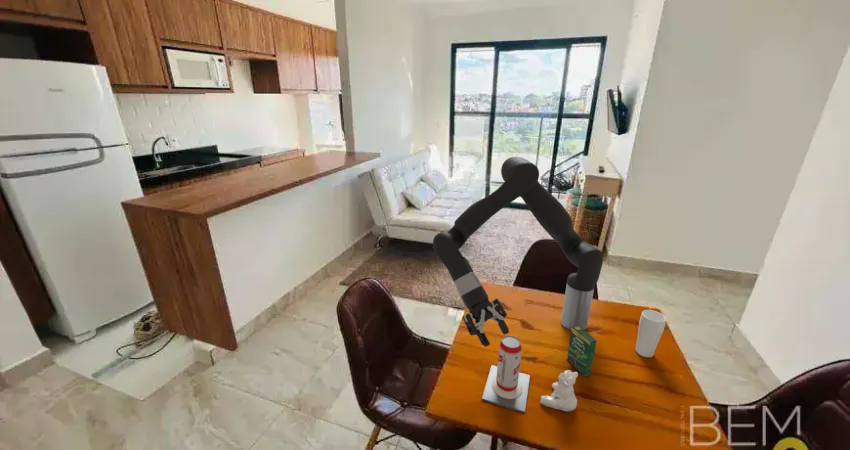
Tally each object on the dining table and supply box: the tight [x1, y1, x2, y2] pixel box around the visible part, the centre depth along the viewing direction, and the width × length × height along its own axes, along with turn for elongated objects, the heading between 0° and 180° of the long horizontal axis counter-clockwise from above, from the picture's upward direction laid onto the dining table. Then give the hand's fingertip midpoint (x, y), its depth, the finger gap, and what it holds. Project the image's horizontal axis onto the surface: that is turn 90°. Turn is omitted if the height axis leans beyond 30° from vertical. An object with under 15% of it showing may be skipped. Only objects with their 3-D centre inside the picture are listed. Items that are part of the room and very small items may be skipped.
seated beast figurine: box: [539, 369, 579, 412], centre depth 93 cm, size 10×9×12 cm
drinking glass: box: [634, 309, 667, 358], centre depth 111 cm, size 7×7×15 cm
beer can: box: [496, 335, 523, 392], centre depth 97 cm, size 6×6×16 cm
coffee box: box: [566, 326, 597, 377], centre depth 106 cm, size 8×3×13 cm, turn 19°
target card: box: [481, 364, 531, 414], centre depth 100 cm, size 14×12×1 cm
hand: (497, 339), depth 99 cm, fingers open, 8 cm apart
